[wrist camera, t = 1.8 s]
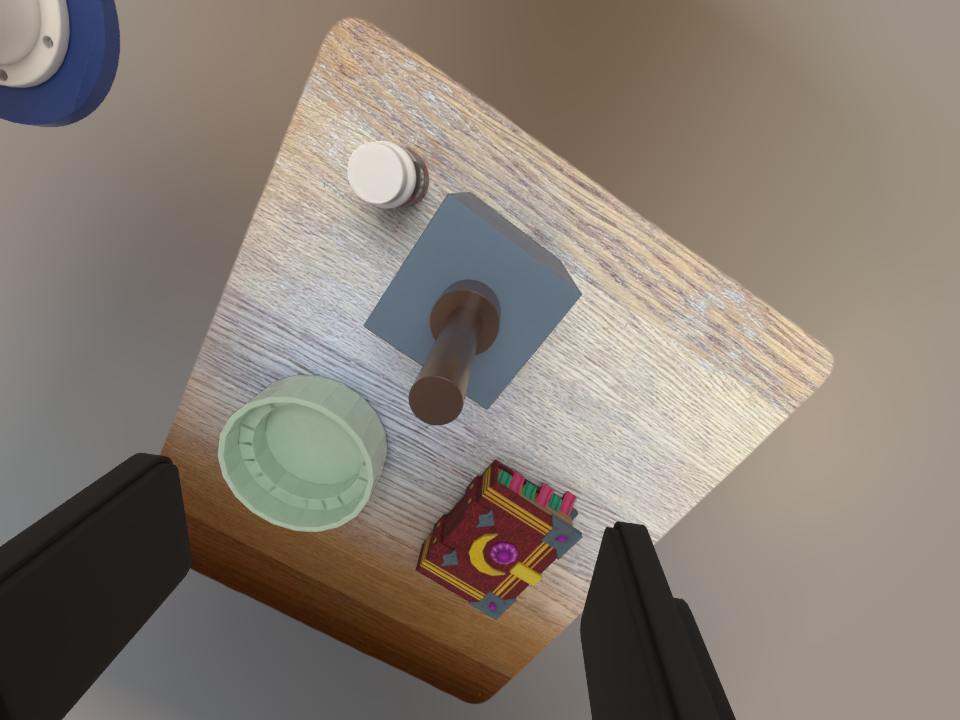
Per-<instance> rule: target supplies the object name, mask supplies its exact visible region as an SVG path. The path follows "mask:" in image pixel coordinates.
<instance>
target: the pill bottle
mask: <svg viewBox="0 0 960 720" xmlns="http://www.w3.org/2000/svg"><path fill="white" fill-rule="evenodd" d="M347 175H348V180H349V183H350V185H351V187H352V189H353V191H354V192H355V193H356V194H357V195H358V196H359V197H360V198H361V199H363V200H364V201H366V202H369V203H370V204H372V205H374V206H376V207H379V208H383V209H393V208H399V207H407V206H411V205H413V204H415V203H417V202H418V201H420V200H421V199H422V198H423V196H424V195H425V193H426V191H427V188H428V184H429V174H428V170H427V167H426V165H425V163H424V161H423V160H422V158H421V157H420V156H419V155H418V154H417V153H415V152H414V151H412V150H410V149H408V148H405V147H402V146H400V145H398V144H396V143H393V142H389V141H375V142H372V143H366V144H363V145H361V146H359V147H358V148H357V149H356V150H355V151H354V152H353V153H352V155H351V156H350V159H349V162H348V166H347Z"/></svg>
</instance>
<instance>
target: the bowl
mask: <svg viewBox="0 0 960 720" xmlns="http://www.w3.org/2000/svg"><path fill="white" fill-rule="evenodd" d="M386 457H387V441H386V432H385V430H384V428H383V426H382V423H381V421H380V419H379V417H378V415H377V413H376V412H375V411H374V410H373V408H372V407H371V406H370V405H369V404H368V403H367V402H366V400H365V399H364V398H363V397H362V396H361V395H359V394H358V393H356V392H355V391H353V390H352V389H350V388H349V387H347V386H345V385H344V384H342V383H340V382H337V381H334V380H331V379H328V378H324V377H321V376H315V375H294V376H291V377H288V378H284V379H281V380H278V381H275V382H273V383H272V384H271V385H269V386H268V387H267V388H265V389H264V390H263V391H261V392H260V393H259V394H258V395H256V396H255V397H254V398H253V399H251V400H250V401H249V402H248V403H246V404H245V405H244V406H243V407H241V408H240V409H239V410H238V411H236V412H235V413H234V414H233V415H231V416H230V417H229V419H228V421H227V423H226V424H225V426H224V428H223V430H222V432H221V433H220V438H219V447H218V459H219V463H220V467H221V471H222V475H223V477H224V479H225V481H226V482H227V484H228V486H229V487H230V489H231V490H232V492H233V494H234V495H235V496H236V497H237V498H238V499H239V500H240V501H241V502H242V503H243V504H244V505H245V506H246V507H247V508H248V509H249V510H250V511H251V512H253V513H254V514H256V515H258V516H260V517H261V518H263V519H265V520H267V521H268V522H270V523H272V524H274V525H278V526H281V527H284V528H288V529H291V530H294V531H310V532H320V531H324V530H328V529H332V528H337V527H340V526H341V525H343V524H345V523H346V522H348V521H350V520H351V519H353V518H355V517H356V516H357V515H358V514H359V512H360V511H361V510H362V509H363V507H364V506H365V505H366V503H367V502H368V501H369V499H370V496H371V494H372V492H373V490H374V488H375V486H376V484H377V481H378V479H379V477H380V475H381V473H382V471H383V468H384V464H385V460H386Z"/></svg>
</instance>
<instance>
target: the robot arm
mask: <svg viewBox="0 0 960 720" xmlns="http://www.w3.org/2000/svg"><path fill="white" fill-rule="evenodd" d="M69 36H70V25H69V13H68V8H67V3H66V0H0V85H3V86H8V87H16V88H27V87H32V86H37V85H39V84H41V83H43V82H45V81H47V80H48V79H49V78H51V77H52V76H53V75H54V74H55V73H56V72H57V70H58V69H59V67H60V66H61V64H62V63H63V61H64V58H65V55H66V52H67V49H68V43H69ZM191 561H192V557H191V551H190V544H189V538H188V531H187V525H186V518H185V512H184V505H183V498H182V492H181V485H180V479H179V472H178V468H177V467H176V465H173V463H172V460H171V459H170V458H169V457H166V456H160V455H152V454H146V453H137V454H135V455H133V456H131V457H130V458H128V459H127V460H126V461H124V462H123V463H121V464H120V465H118V466H117V467H115V468H114V469H112V470H111V471H110V472H108V473H107V474H105V475H104V476H102V477H101V478H99V479H98V480H97V481H95V482H94V483H92V484H91V485H89V486H88V487H86V488H85V489H83V490H82V491H81V492H79V493H78V494H76V495H75V496H73V497H72V498H70V499H69V500H67V501H66V502H65V503H63V504H62V505H60V506H59V507H57V508H56V509H54V510H53V511H51V512H50V513H49V514H47V515H46V516H44V517H43V518H41V519H40V520H38V521H37V522H36V523H34V524H33V525H31V526H30V527H28V528H27V529H25V530H24V531H22V532H21V533H20V534H18V535H17V536H15V537H14V538H12V539H11V540H9V541H8V542H6V543H5V544H3V545H2V546H1V547H0V720H62V719H63V718H64V717H65V715H66V714H67V713H68V712H69V711H70V710H71V708H72V707H73V706H74V705H75V704H76V703H77V702H78V700H79V699H80V698H81V697H82V696H83V695H84V693H85V692H86V691H87V690H88V689H89V688H90V687H91V685H92V684H93V683H94V682H95V681H96V680H97V678H98V677H99V676H100V675H101V674H102V673H103V671H104V670H105V669H106V668H107V667H108V666H109V664H110V663H111V662H112V661H113V660H114V659H115V657H116V656H117V655H118V654H119V653H120V652H121V651H122V649H123V648H124V647H125V646H126V645H127V644H128V642H129V641H130V640H131V639H132V638H133V637H134V635H135V634H136V633H137V632H138V631H139V630H140V629H141V627H142V626H143V625H144V624H145V623H146V621H147V620H148V619H149V618H150V617H151V616H152V615H153V613H154V612H155V611H156V610H157V609H158V608H159V606H160V605H161V604H162V603H163V602H164V601H165V599H166V598H167V597H168V596H169V595H170V594H171V592H172V591H173V590H174V589H175V588H176V587H177V585H178V584H179V583H180V582H181V581H182V580H183V578H184V577H185V576H186V575H187V573H188V571H189V569H190V566H191ZM580 628H581V629H580V631H581V632H580V633H581V643H582V650H583V657H584V663H585V671H586V678H587V685H588V692H589V699H590V707H591V714H592V720H736V719H735V716H734V714H733V711H732V709H731V707H730V704H729V702H728V699H727V697H726V694H725V692H724V690H723V687H722V685H721V682H720V680H719V678H718V675H717V673H716V670H715V668H714V666H713V663H712V660H711V658H710V656H709V653H708V651H707V649H706V646H705V644H704V641H703V639H702V636H701V634H700V631H699V629H698V626H697V624H696V622H695V619H694V617H693V614H692V612H691V610H690V608H689V606H688V604H687V603H686V602H685V601H684V600H683V599H678V598H673V596H672V593H671V591H670V588H669V585H668V582H667V580H666V577H665V575H664V572H663V570H662V567H661V564H660V562H659V559H658V556H657V554H656V551H655V549H654V546H653V543H652V541H651V538H650V535H649V533H648V530H647V528H646V527H645V526H644V525H640V524H633V523H626V522H619V521H618V522H616V523H615V525H614V527H613V528H610V527H606V529H605V531H604V535H603V538H602V542H601V546H600V550H599V554H598V557H597V561H596V565H595V569H594V572H593V576H592V580H591V584H590V587H589V591H588V595H587V599H586V603H585V606H584V610H583V614H582V618H581V627H580Z"/></svg>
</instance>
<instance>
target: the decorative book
mask: <svg viewBox="0 0 960 720" xmlns="http://www.w3.org/2000/svg"><path fill="white" fill-rule="evenodd" d="M553 491H554V489H552V488H551V487H549V486H547V485H546V484H543V486H542V488H541V489H540V488H538V487H537V486H535V485H533V484H532V483H530V482H529V481H527V480H526V479H524V477H523V476H522V475H520V474H519V473H517V472H516V471H514V472H513V471H512V470H510V469H509V468H507V467H506V466H504V465H503V464H501V463H500V462H498V461H497V460H495V461H494V462H493V464H492V465H491V466H490V467H489V468H488V469H487V470H486V472H485V473H484V474H483V475H482V476H481V477H479V476H477V477H476V478H475V479H474V480H473V481H472V483H471V484H470V485H469V486H468V487H467V490H466V495H465V496H464V497H463V498H462V499H461V501H460V502H459V503H458V504H457V505H456V506H455V507H454V509H453V510H452V511H451V512H450V513H449V514H448V516H446V515H445V514H444V515H443V516H442V517H441V519H440V520H439V521H438V522H437V523H436V524H435V526H434V530H433V533H432V534H431V535H430V536H429V537H428V539H427V540H426V541H425V542H424V543H423V544H422V548H421V552H420V555H419V559H418V563H417V567H416V571H418V572H419V573H421V574H423V575H425V576H426V577H428V578H430V579H431V580H433V581H435V582H436V583H438V584H440V585H442V586H443V587H445V588H447V589H448V590H450V591H452V592H454V593H455V594H457V595H459V596H460V597H462V598H464V599H466V600H467V601H469V604H470V605H472V606H473V607H475V608H477V609H478V610H480V611H482V612H483V613H485V614H487V615H488V616H490V617H492V618H493V619H495V620H496V619H497V618H498V617H499V616H501V615H502V614H503V613H504V612H505V611H506V610H507V609H508V608H509V607H510V606H511V605H512V604H513V603H514V602H515V601H516V597H517V596H518V595H519V594H520V593H521V592H522V591H523V590H524V589H525V588H526V587H527V586H528V585H529V584H530V585H532V586H534V585H535V584H536V583H537V582H539V581H540V580H541V579H542V572H543V571H544V570H545V569H546V568H547V567H548V566H549V565H550V564H551V563H552V562H553V561H554V560H555V559H558V560H559V559H560V558H561V557H562V556H563V555H564V554H565V553H566V552H567V551H568V550H569V549H570V548H571V547H572V546H574V545H575V544H576V543H577V542H578V541H579V540H580V539H581V538H582V533H581V532H580V531H579V530H577V529H575V528H574V527H573V524H572V520H573V519H574V518H575V517H576V516H577V515H578V512H577V510H576V509H574V508H573V504H574V502H575V500H576V498H577V497H576V496H574V495H573V494H571V493H570V492H568V491H567V492H566V494H565V496H564V499H563V501H562V499H560V498H559V497H557V496H556V495H554V494H552V493H553Z"/></svg>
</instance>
